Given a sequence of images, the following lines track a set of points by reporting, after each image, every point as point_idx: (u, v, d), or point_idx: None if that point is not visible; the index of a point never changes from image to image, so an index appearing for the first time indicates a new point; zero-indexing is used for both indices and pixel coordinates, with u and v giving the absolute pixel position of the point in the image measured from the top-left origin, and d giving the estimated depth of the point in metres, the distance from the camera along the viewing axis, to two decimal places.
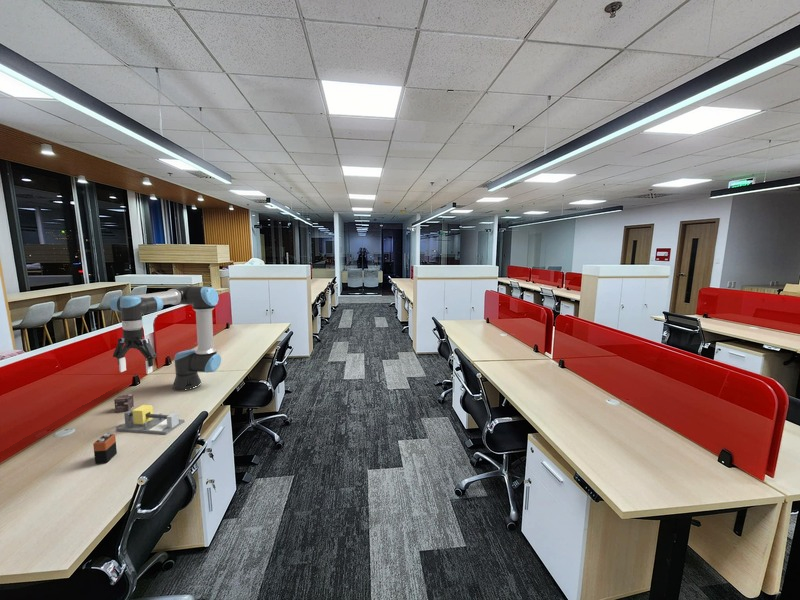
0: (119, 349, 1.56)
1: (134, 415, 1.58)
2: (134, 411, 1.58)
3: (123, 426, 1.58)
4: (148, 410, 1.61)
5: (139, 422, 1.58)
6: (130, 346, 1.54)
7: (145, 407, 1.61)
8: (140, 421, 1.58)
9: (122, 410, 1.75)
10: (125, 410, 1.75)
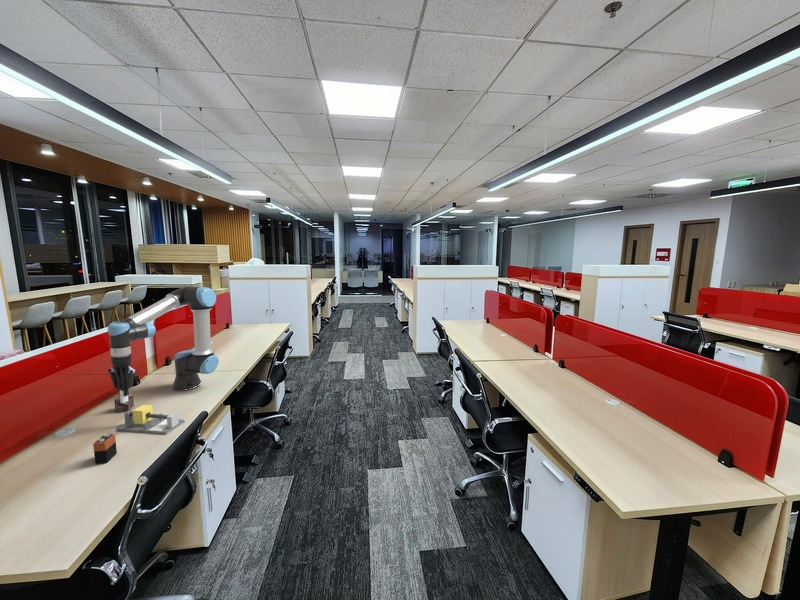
0: (115, 379, 1.59)
1: (134, 415, 1.58)
2: (134, 411, 1.58)
3: (123, 426, 1.58)
4: (148, 410, 1.61)
5: (139, 422, 1.58)
6: (118, 372, 1.58)
7: (145, 407, 1.61)
8: (140, 421, 1.58)
9: (122, 410, 1.75)
10: (125, 410, 1.75)
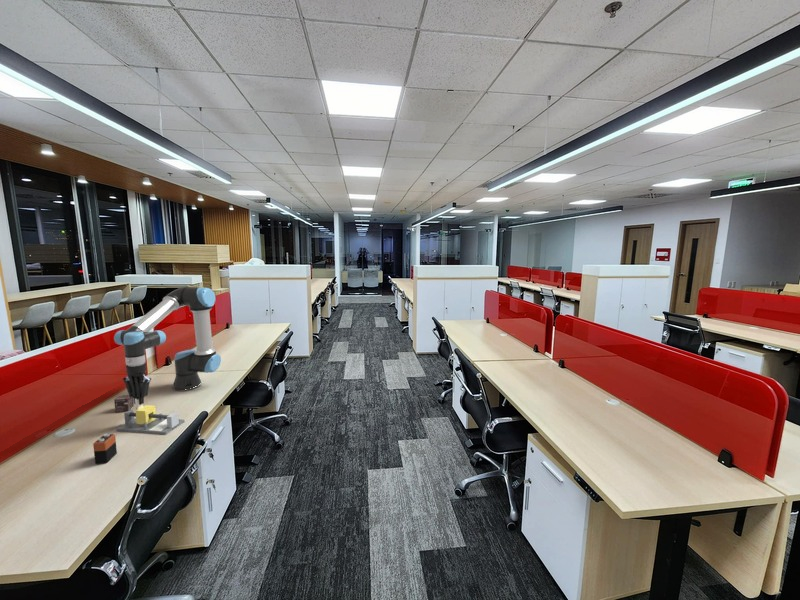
0: (130, 387, 1.59)
1: (137, 415, 1.58)
2: (137, 411, 1.58)
3: (123, 426, 1.58)
4: (151, 410, 1.61)
5: (142, 422, 1.58)
6: (133, 381, 1.58)
7: (148, 408, 1.61)
8: (143, 421, 1.58)
9: (122, 410, 1.75)
10: (125, 410, 1.75)
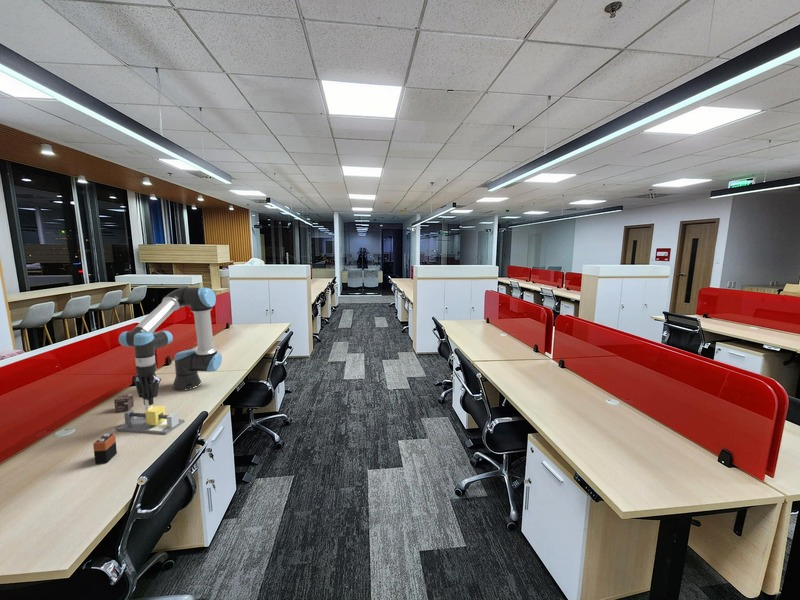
0: (140, 388, 1.59)
1: (147, 416, 1.58)
2: (147, 412, 1.57)
3: (123, 426, 1.58)
4: (161, 411, 1.60)
5: (152, 423, 1.58)
6: (143, 382, 1.57)
7: (158, 408, 1.60)
8: (153, 421, 1.58)
9: (122, 410, 1.75)
10: (125, 410, 1.75)
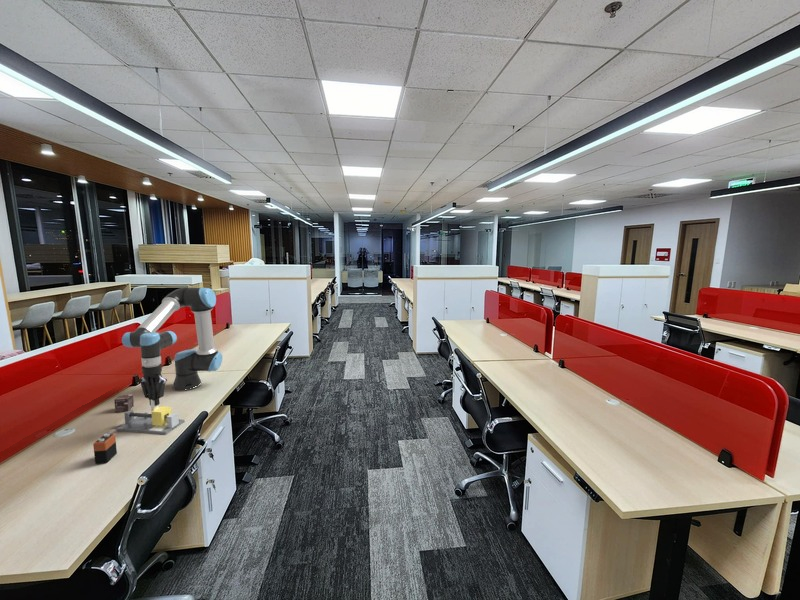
0: (146, 388, 1.59)
1: (153, 416, 1.57)
2: (153, 412, 1.57)
3: (123, 426, 1.58)
4: (166, 411, 1.60)
5: (158, 423, 1.58)
6: (149, 382, 1.57)
7: (164, 409, 1.60)
8: (158, 422, 1.57)
9: (122, 410, 1.75)
10: (125, 410, 1.75)
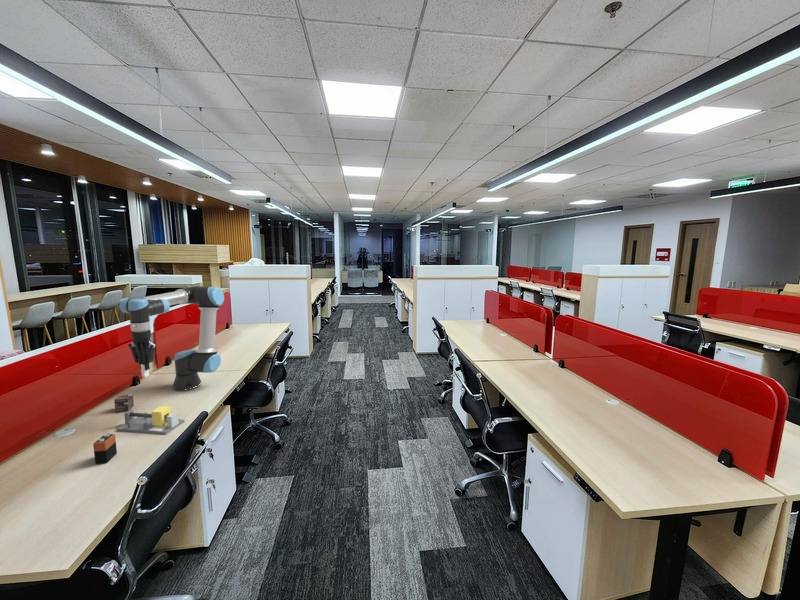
0: (136, 353, 1.62)
1: (153, 416, 1.57)
2: (153, 412, 1.57)
3: (123, 426, 1.58)
4: (167, 411, 1.60)
5: (158, 423, 1.58)
6: (139, 347, 1.61)
7: (164, 409, 1.60)
8: (159, 422, 1.57)
9: (122, 410, 1.75)
10: (125, 410, 1.75)
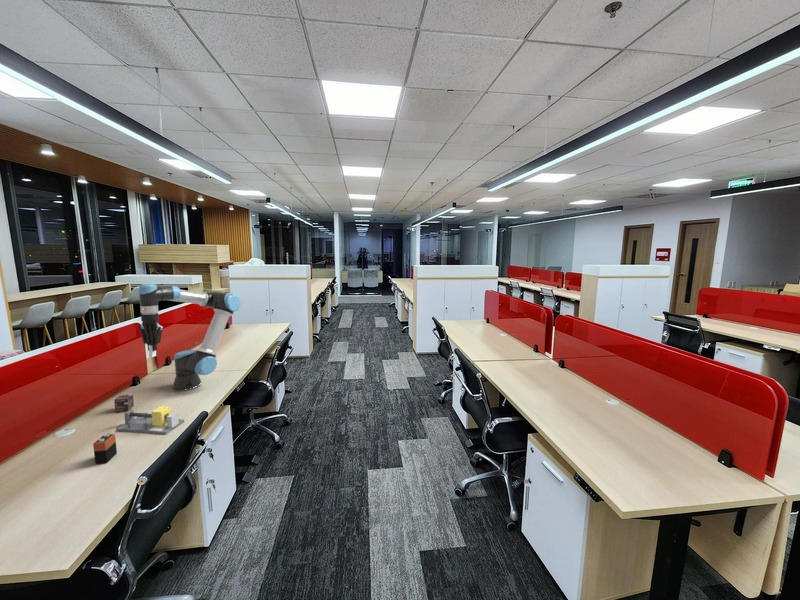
0: (145, 335, 1.75)
1: (153, 416, 1.57)
2: (153, 412, 1.57)
3: (123, 426, 1.58)
4: (167, 411, 1.60)
5: (158, 423, 1.58)
6: (147, 329, 1.73)
7: (164, 409, 1.60)
8: (159, 422, 1.57)
9: (122, 410, 1.75)
10: (125, 410, 1.75)
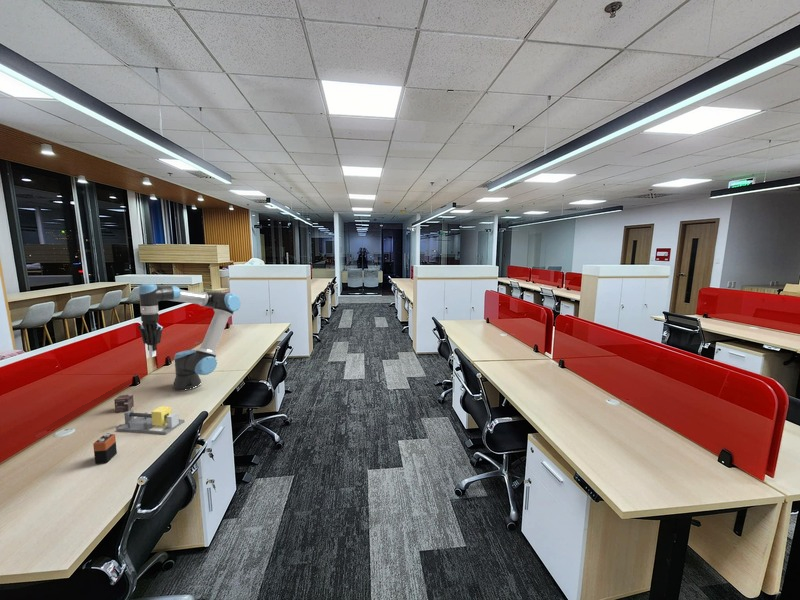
0: (145, 335, 1.75)
1: (153, 416, 1.57)
2: (153, 412, 1.57)
3: (123, 426, 1.58)
4: (167, 411, 1.60)
5: (158, 423, 1.58)
6: (147, 329, 1.73)
7: (164, 409, 1.60)
8: (159, 422, 1.57)
9: (122, 410, 1.75)
10: (125, 410, 1.75)
